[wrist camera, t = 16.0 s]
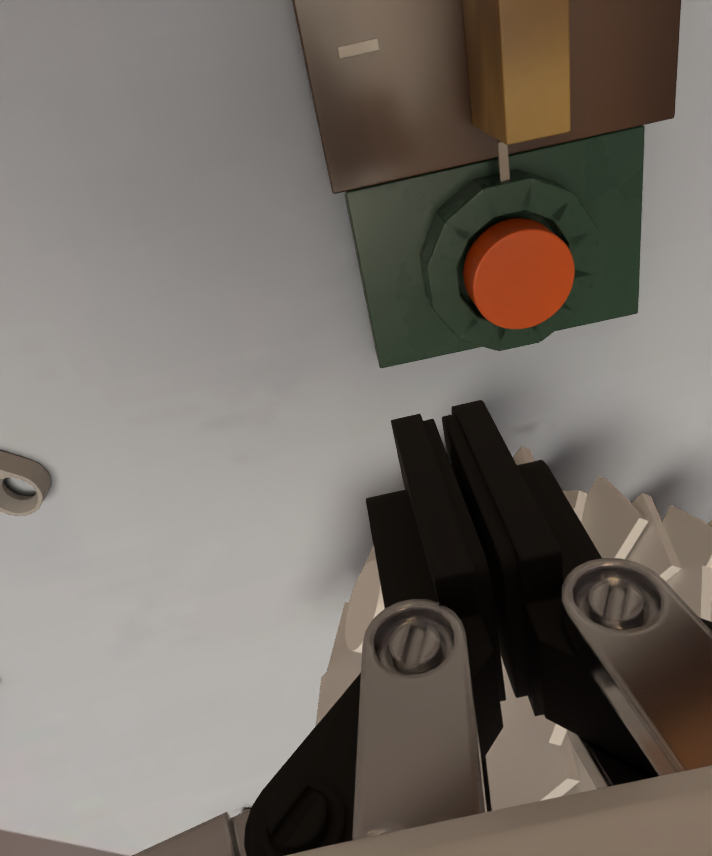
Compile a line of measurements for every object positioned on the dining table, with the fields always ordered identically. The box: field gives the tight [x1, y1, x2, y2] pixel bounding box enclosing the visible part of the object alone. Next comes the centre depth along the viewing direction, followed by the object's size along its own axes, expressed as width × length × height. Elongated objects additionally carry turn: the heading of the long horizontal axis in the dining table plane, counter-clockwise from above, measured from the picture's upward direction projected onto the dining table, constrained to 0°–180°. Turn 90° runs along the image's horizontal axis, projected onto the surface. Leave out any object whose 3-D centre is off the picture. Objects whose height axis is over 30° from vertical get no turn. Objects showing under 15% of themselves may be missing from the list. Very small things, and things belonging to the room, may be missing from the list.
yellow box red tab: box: [462, 0, 571, 145], centre depth 20 cm, size 6×2×5 cm, turn 11°
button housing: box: [344, 125, 644, 368], centre depth 28 cm, size 12×8×4 cm, turn 101°
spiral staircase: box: [316, 447, 712, 811], centre depth 32 cm, size 18×18×25 cm
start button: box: [463, 218, 575, 329], centre depth 26 cm, size 4×4×2 cm
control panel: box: [292, 0, 681, 194], centre depth 23 cm, size 13×11×3 cm
